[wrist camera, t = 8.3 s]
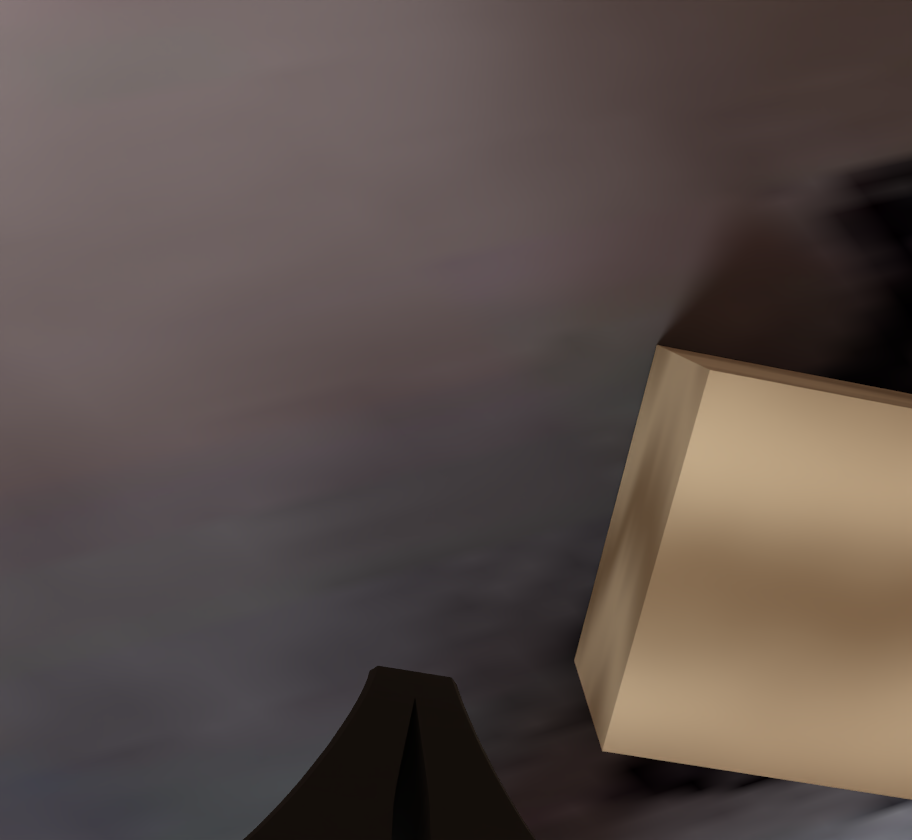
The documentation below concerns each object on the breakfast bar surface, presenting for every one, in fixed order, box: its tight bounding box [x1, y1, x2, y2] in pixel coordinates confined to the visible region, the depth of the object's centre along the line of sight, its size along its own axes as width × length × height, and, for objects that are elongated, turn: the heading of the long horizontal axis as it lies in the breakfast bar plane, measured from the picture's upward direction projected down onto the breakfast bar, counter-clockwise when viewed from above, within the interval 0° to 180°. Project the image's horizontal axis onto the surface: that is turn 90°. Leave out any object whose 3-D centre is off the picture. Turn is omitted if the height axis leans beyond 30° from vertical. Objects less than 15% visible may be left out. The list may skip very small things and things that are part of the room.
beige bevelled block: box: [574, 345, 912, 799], centre depth 19 cm, size 10×9×4 cm
